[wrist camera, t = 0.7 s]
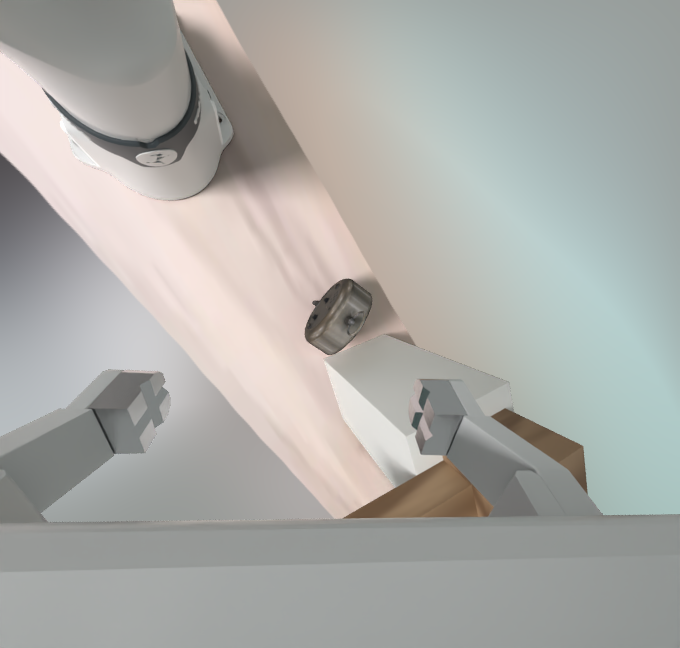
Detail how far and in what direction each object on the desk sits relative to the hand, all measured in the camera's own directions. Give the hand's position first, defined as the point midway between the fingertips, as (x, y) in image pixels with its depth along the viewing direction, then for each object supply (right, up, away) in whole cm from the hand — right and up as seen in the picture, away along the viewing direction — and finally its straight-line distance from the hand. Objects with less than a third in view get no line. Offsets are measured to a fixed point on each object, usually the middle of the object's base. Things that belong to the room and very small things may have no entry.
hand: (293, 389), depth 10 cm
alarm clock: (-1, +5, +39) cm, 39 cm away
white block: (+6, -7, +43) cm, 44 cm away
